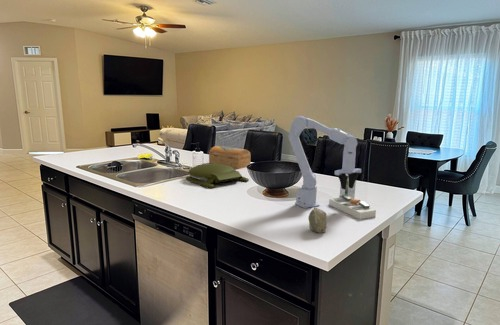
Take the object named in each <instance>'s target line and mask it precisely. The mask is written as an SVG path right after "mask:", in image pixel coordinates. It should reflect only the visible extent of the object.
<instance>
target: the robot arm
mask: <svg viewBox="0 0 500 325" xmlns="http://www.w3.org/2000/svg"><path fill="white" fill-rule="evenodd" d="M305 128H306V129H307V130H308V129H314V130H317V131H319V132H321V133H323V134H325V135H328V139H329V140H332V141H333V142H336V143H338V144H340V145H344V146H343V151H342V166H341V167H342V168H341V169H337V170H334V175H335V176H337V177H338V179H339V182H340V184H341V188H342V189H346V182H347V179H348V178H349V188H353V186H354V183H355V181H356V182H357V179H358V177H359V175H360V174H361V173H362V168H355V167H356V153H357V151H356V150H357V146H358V139H357V138H356V137H355V136H354V135H352V134H350V132H345V131H343V130H341V128H339V127H337V128H336V127H333V128H330V127H328V126H327V125H325V124H323V123H320V122H318V121H316V120H315V119H312V118H308V117H305V116H304V115H297V116H295V118H294V120H293V121H292V123H291V124H290V129H289V132H288V136H287V137H288V140H289V143H290V145H291V148H292V150H293V154H294V157H295V158H296V161H297V164H298V168H299V169H300V172H301V173H300V174H301V175H302V179H303V181H302V183H303V184H302V185H301V187H299V188H297V190H296V192H295V193H296V195H295V196H296V197H295V203H294V204H295V205H297V206H299V207H301V208H302V209H306V208H307V209H308V208H312V207H313V208H314V207H320V206H321V205H320V204H319V203H317V190H318V189H317V176H316V175H315V173H314V172H313V171H312V169H311V167H310V164H309V161H308V159H307V156H306V154H305V151H304V148H303V145H302V142H301V140H300V135H301V134H302V132H303V131H304V130H305ZM345 174H348V176H346V175H345Z"/></svg>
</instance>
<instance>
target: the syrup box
mask: <svg viewBox="0 0 500 325" xmlns="http://www.w3.org/2000/svg"><path fill="white" fill-rule="evenodd" d="M345 175H346V176H348V174H345ZM356 184H357V180H356V181H355V183H354V186H353V188H349V178H348V179H347V182H346V189H342V188H341V183H340V184H339V186H340V187H339V197H338V198H340V197H342V195H345V194H346V195H348V196H349V197H351V198H352V199H355V195H356Z"/></svg>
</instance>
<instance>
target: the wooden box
mask: <svg viewBox="0 0 500 325" xmlns="http://www.w3.org/2000/svg"><path fill="white" fill-rule="evenodd" d="M208 153H209V154H208V164H209V163H217V164H224V165H228V166H231V167H233V168H234V169H235V170H241V169H245V168H247V167H246V166H247V165H249V164H251V159H252V158H251V157H252V156H251V154H252V153H251V152H250V151H249V150H248V149H244V148H238V147H229V146H222V145H215V146H213V147H211V148H210V150H209V151H208ZM251 165H252V164H251Z"/></svg>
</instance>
